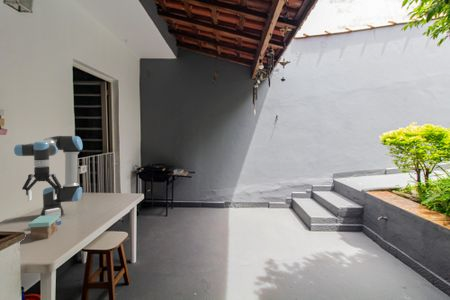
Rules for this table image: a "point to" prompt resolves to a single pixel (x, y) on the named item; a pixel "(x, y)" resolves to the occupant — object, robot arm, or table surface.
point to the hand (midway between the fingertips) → (42, 199)
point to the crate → (43, 231)
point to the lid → (43, 221)
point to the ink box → (54, 213)
